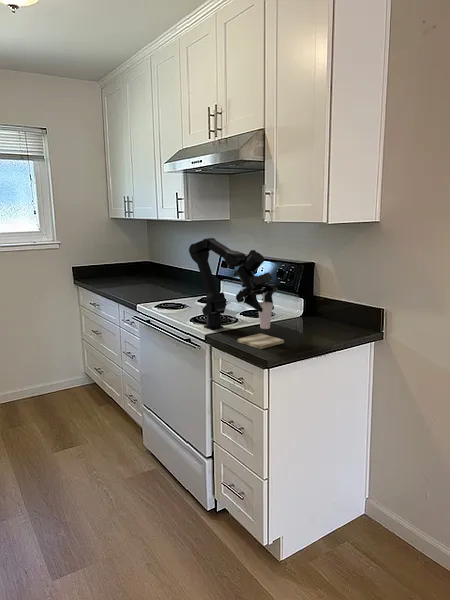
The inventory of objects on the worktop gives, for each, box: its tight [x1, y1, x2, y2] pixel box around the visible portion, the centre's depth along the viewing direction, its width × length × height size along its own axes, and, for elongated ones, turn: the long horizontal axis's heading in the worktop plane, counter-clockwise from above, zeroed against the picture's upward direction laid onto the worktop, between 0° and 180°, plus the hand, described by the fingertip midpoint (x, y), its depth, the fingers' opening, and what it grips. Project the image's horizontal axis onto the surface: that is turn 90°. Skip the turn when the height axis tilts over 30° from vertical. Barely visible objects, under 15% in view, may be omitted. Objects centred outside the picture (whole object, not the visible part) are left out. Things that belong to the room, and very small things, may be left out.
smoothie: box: [257, 293, 274, 330], centre depth 178 cm, size 6×6×14 cm
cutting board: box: [236, 332, 285, 350], centre depth 180 cm, size 13×13×1 cm
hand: (267, 310), depth 177 cm, fingers closed on smoothie, 6 cm apart
